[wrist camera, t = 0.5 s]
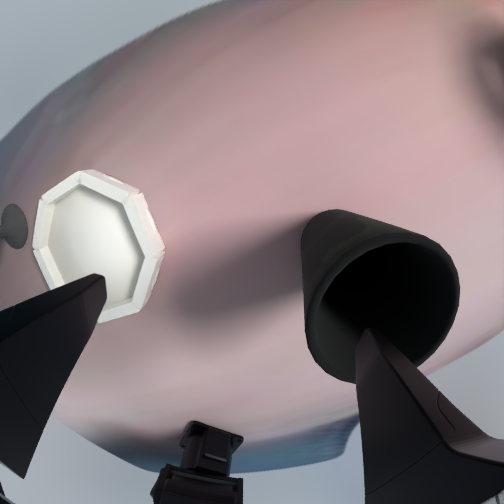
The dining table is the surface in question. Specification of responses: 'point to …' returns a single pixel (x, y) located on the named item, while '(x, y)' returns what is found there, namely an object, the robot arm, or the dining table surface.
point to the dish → (99, 239)
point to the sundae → (14, 226)
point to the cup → (373, 289)
